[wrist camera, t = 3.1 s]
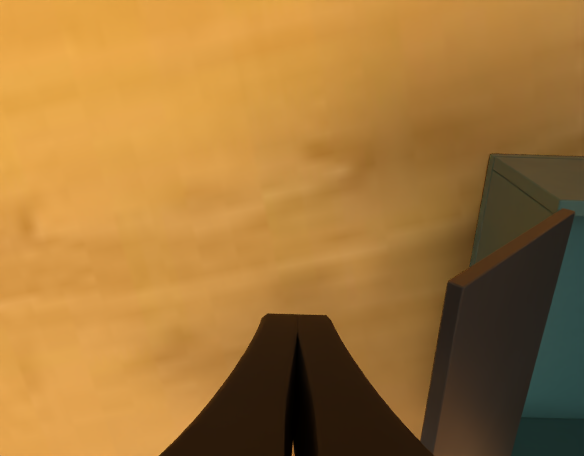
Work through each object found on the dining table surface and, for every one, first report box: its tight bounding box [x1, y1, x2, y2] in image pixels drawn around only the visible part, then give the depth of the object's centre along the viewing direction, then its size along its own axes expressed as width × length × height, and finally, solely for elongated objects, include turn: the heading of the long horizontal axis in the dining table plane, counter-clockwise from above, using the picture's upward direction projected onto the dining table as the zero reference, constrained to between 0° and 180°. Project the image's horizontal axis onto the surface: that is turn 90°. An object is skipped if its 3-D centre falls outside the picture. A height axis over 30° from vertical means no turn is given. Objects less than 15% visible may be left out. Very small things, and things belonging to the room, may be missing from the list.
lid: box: [420, 208, 575, 456], centre depth 14 cm, size 6×13×1 cm
